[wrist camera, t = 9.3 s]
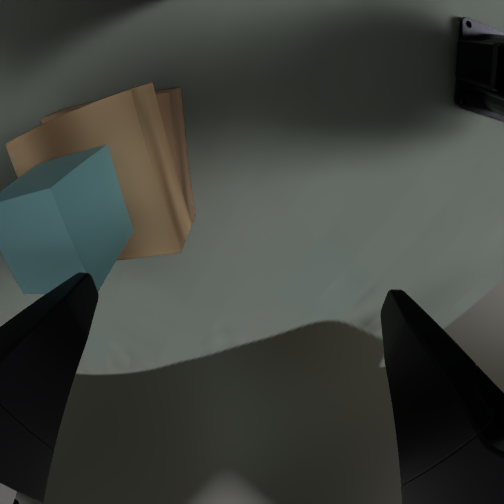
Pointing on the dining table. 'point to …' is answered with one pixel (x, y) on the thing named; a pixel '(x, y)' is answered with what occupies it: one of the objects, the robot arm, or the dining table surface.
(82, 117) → the oak slab
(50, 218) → the teal cube
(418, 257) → the dining table surface
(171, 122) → the walnut slab
